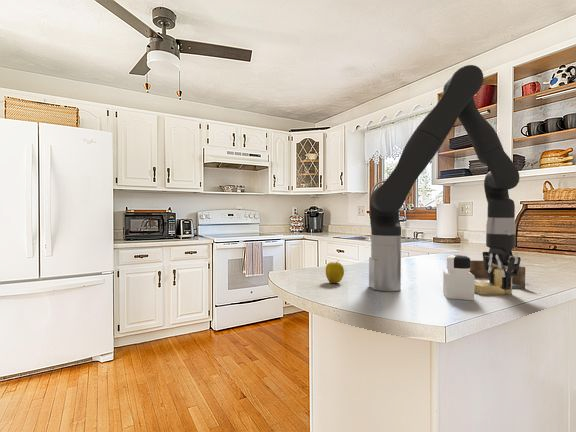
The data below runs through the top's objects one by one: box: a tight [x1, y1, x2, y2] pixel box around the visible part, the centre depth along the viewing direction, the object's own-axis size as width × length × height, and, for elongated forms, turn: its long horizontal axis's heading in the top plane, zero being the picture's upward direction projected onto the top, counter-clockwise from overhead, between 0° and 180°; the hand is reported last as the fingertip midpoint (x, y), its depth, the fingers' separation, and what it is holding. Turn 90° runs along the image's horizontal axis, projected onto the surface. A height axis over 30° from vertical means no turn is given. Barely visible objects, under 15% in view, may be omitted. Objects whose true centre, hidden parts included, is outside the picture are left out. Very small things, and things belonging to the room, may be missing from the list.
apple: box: [325, 260, 345, 284], centre depth 110 cm, size 6×6×8 cm
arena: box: [469, 259, 526, 290], centre depth 112 cm, size 16×15×7 cm
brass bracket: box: [474, 268, 513, 295], centre depth 99 cm, size 10×5×7 cm, turn 92°
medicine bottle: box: [442, 254, 475, 301], centre depth 93 cm, size 7×7×12 cm
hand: (499, 287), depth 99 cm, fingers closed on brass bracket, 5 cm apart
